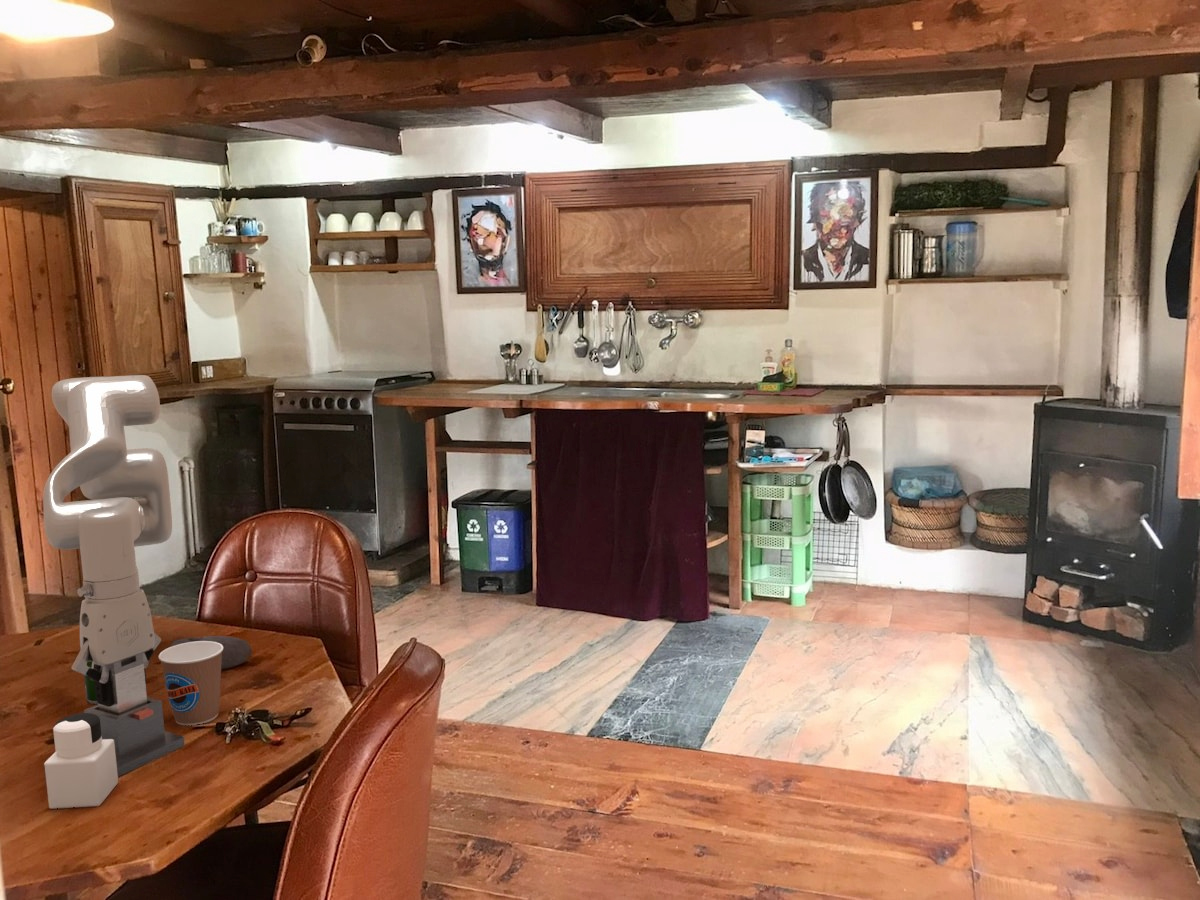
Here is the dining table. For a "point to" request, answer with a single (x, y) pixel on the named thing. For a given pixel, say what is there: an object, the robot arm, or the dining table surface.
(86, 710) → the base
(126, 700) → the jack column
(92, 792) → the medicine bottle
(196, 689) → the coffee cup
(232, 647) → the perforated stone tool
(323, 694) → the dining table surface
